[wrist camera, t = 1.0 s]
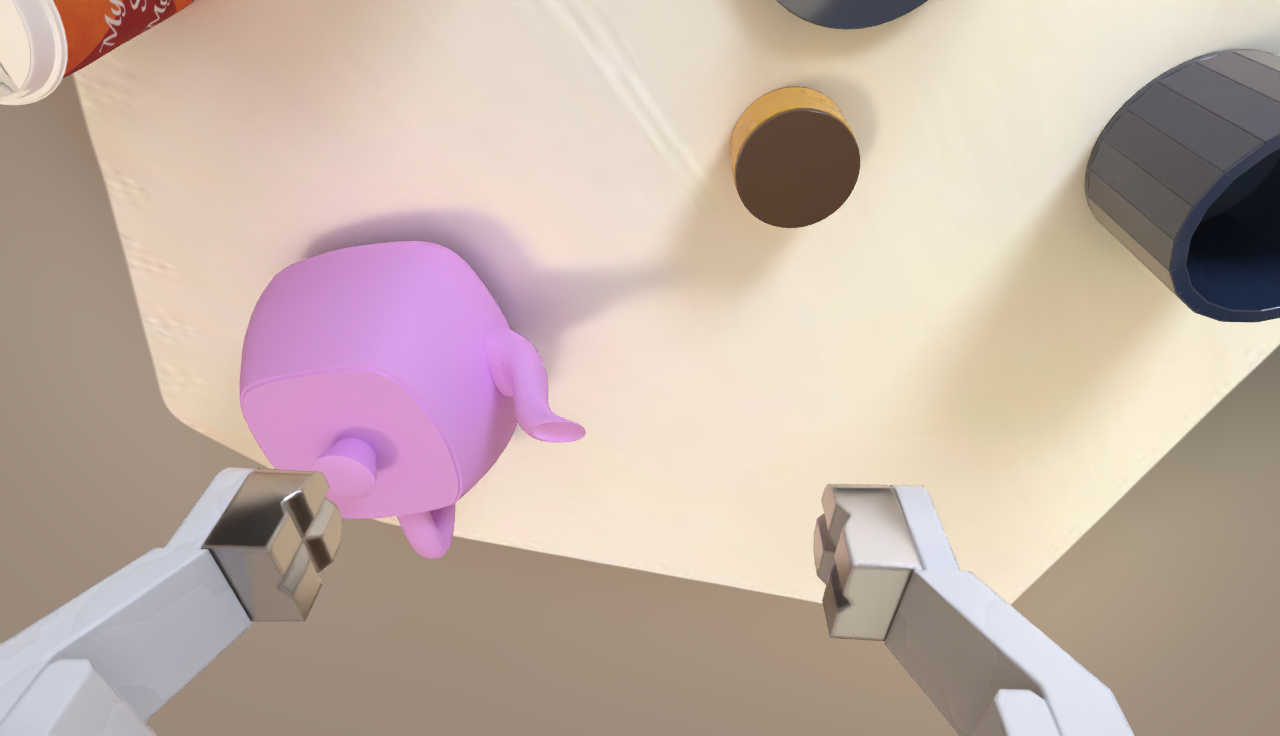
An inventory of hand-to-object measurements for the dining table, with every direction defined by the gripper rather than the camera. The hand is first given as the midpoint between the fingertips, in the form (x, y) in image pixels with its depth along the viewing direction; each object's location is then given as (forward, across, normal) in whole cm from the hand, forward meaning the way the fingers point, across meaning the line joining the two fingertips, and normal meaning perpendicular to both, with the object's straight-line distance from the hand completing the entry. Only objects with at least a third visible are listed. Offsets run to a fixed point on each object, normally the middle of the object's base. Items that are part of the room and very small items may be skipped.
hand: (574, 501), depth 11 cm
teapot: (+35, +16, +20) cm, 43 cm away
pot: (+34, -33, +6) cm, 48 cm away
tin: (+34, -9, +6) cm, 36 cm away
